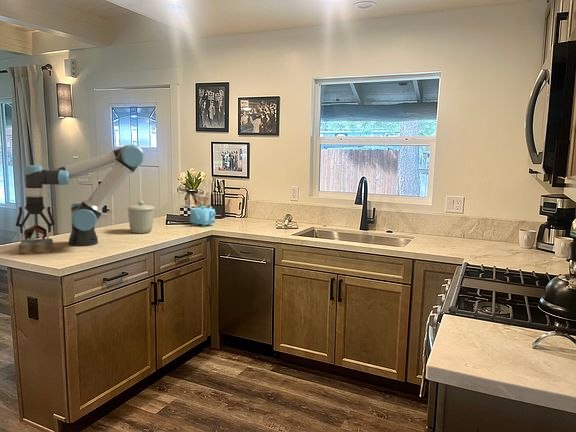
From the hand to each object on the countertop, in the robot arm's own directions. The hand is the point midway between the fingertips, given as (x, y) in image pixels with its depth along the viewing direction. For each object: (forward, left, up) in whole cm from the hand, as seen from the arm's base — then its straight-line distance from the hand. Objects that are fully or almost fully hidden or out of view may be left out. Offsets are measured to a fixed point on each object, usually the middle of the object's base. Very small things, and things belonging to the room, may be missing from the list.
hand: (36, 239), depth 217 cm
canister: (-57, -43, -6) cm, 72 cm away
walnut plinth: (0, 0, -6) cm, 6 cm away
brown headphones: (+1, -2, -1) cm, 2 cm away
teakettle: (-103, -63, -6) cm, 121 cm away
